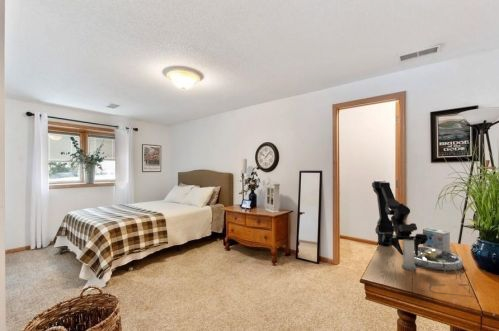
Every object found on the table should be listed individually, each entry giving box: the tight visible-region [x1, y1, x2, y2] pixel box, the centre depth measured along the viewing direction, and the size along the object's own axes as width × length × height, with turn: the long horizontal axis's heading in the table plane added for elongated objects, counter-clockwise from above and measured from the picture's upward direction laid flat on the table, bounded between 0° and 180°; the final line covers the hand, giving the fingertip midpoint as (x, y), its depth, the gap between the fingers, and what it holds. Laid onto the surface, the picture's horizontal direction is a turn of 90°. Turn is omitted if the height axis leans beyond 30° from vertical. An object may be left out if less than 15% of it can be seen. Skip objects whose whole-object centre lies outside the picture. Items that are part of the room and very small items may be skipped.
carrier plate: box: [414, 245, 464, 272], centre depth 119 cm, size 24×24×4 cm
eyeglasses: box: [410, 265, 471, 292], centre depth 99 cm, size 16×15×5 cm
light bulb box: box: [422, 227, 451, 252], centre depth 134 cm, size 11×7×11 cm, turn 25°
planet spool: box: [401, 239, 417, 271], centre depth 112 cm, size 6×6×13 cm
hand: (409, 255), depth 110 cm, fingers open, 6 cm apart
